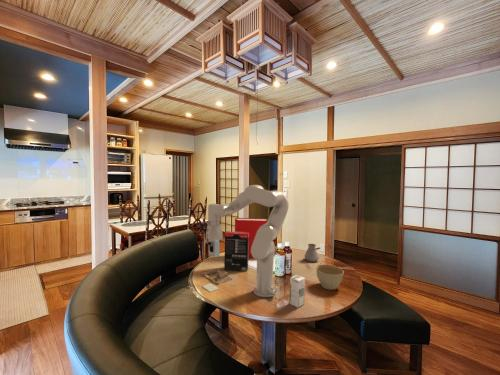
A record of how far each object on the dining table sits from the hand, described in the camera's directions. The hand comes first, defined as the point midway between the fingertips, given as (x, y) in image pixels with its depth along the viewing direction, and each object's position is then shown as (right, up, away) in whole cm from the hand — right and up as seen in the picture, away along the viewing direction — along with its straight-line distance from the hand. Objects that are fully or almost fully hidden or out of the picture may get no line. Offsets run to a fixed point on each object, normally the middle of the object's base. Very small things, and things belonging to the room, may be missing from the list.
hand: (214, 250), depth 150 cm
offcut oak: (+5, -19, 0) cm, 20 cm away
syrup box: (+48, -21, -27) cm, 59 cm away
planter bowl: (+73, -21, -6) cm, 76 cm away
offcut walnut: (+5, -17, 0) cm, 18 cm away
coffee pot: (+74, -19, +35) cm, 84 cm away
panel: (0, -3, 0) cm, 3 cm away
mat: (-1, -19, -11) cm, 22 cm away
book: (+24, -18, +45) cm, 54 cm away
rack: (+2, -19, +4) cm, 19 cm away
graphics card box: (+13, -19, +18) cm, 29 cm away
